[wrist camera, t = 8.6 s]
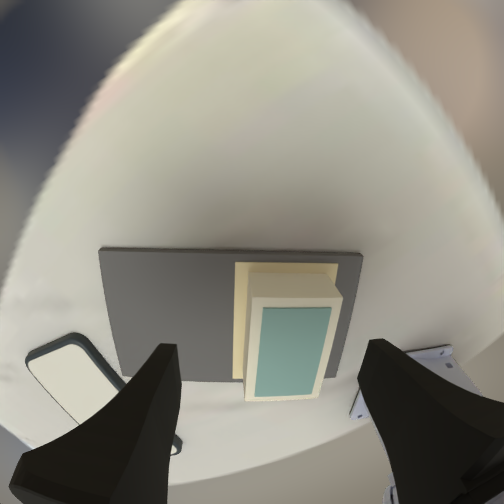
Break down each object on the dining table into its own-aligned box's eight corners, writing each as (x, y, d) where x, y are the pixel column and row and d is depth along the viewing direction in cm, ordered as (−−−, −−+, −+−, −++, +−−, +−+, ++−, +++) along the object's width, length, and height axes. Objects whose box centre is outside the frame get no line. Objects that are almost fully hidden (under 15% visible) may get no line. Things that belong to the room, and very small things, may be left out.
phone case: (26, 350, 22) (124, 453, 27) (18, 360, 20) (121, 463, 25) (84, 323, 21) (188, 441, 26) (77, 334, 19) (187, 453, 25)
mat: (360, 253, 20) (364, 256, 19) (333, 372, 23) (335, 378, 23) (101, 247, 18) (97, 251, 18) (124, 371, 22) (122, 376, 21)
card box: (308, 368, 22) (318, 399, 19) (242, 370, 22) (244, 402, 18) (326, 273, 19) (343, 298, 16) (248, 272, 19) (252, 298, 16)
